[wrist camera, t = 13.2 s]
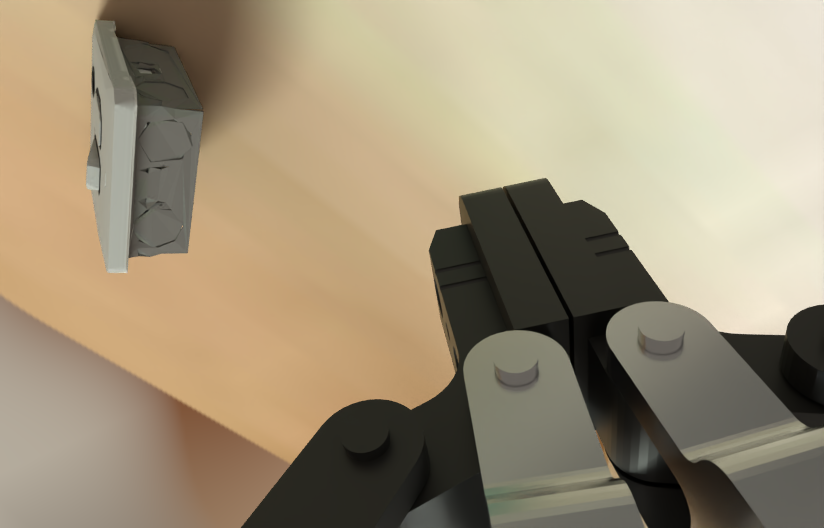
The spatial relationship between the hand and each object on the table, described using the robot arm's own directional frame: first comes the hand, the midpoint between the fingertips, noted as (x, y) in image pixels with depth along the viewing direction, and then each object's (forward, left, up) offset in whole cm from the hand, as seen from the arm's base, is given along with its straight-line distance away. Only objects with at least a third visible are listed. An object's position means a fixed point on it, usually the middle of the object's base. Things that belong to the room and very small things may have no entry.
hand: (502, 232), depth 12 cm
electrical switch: (+13, +6, -27) cm, 31 cm away
